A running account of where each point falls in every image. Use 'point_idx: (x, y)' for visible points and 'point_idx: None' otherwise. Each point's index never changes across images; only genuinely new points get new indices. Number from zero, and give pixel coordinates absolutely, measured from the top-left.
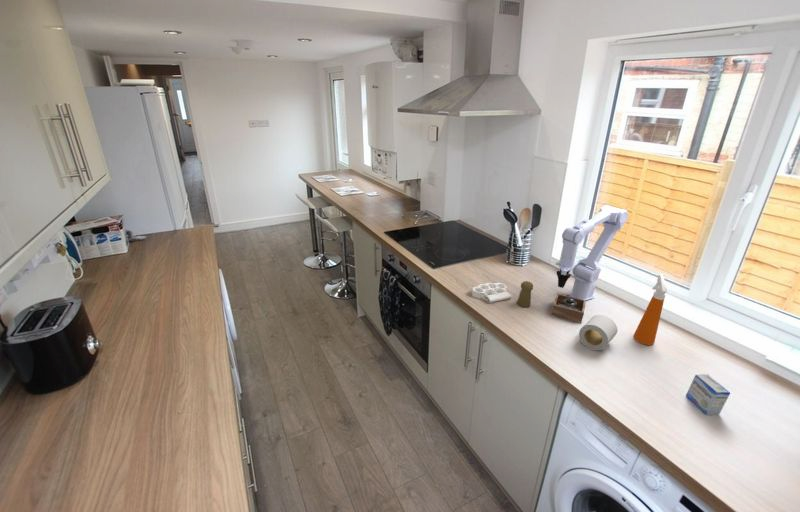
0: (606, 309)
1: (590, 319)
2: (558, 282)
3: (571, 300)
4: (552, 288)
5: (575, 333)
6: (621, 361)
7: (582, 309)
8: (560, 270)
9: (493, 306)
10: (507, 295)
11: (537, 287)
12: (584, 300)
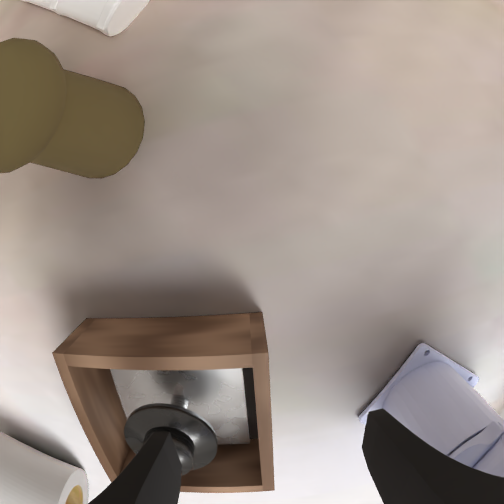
0: (337, 488)
1: (23, 498)
2: (127, 468)
3: None
4: (460, 247)
5: (40, 418)
6: None
7: None
8: (427, 490)
9: (9, 28)
10: (93, 12)
11: (428, 151)
12: (268, 485)
